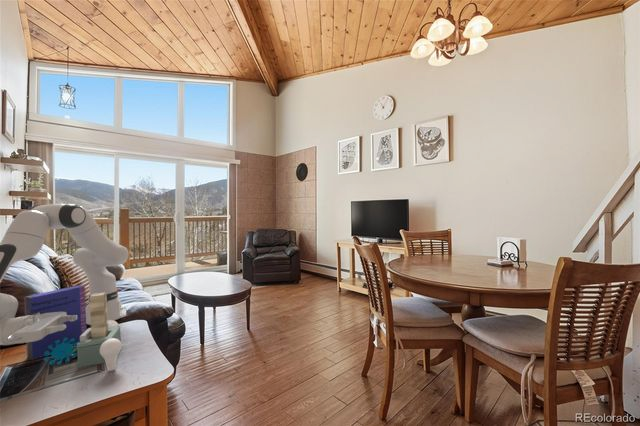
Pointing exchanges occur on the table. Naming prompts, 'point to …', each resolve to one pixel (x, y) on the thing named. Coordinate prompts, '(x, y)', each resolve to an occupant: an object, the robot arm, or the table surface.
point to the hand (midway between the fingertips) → (71, 322)
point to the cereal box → (57, 301)
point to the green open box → (91, 354)
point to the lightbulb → (110, 352)
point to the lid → (87, 338)
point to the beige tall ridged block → (98, 315)
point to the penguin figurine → (112, 324)
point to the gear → (61, 351)
